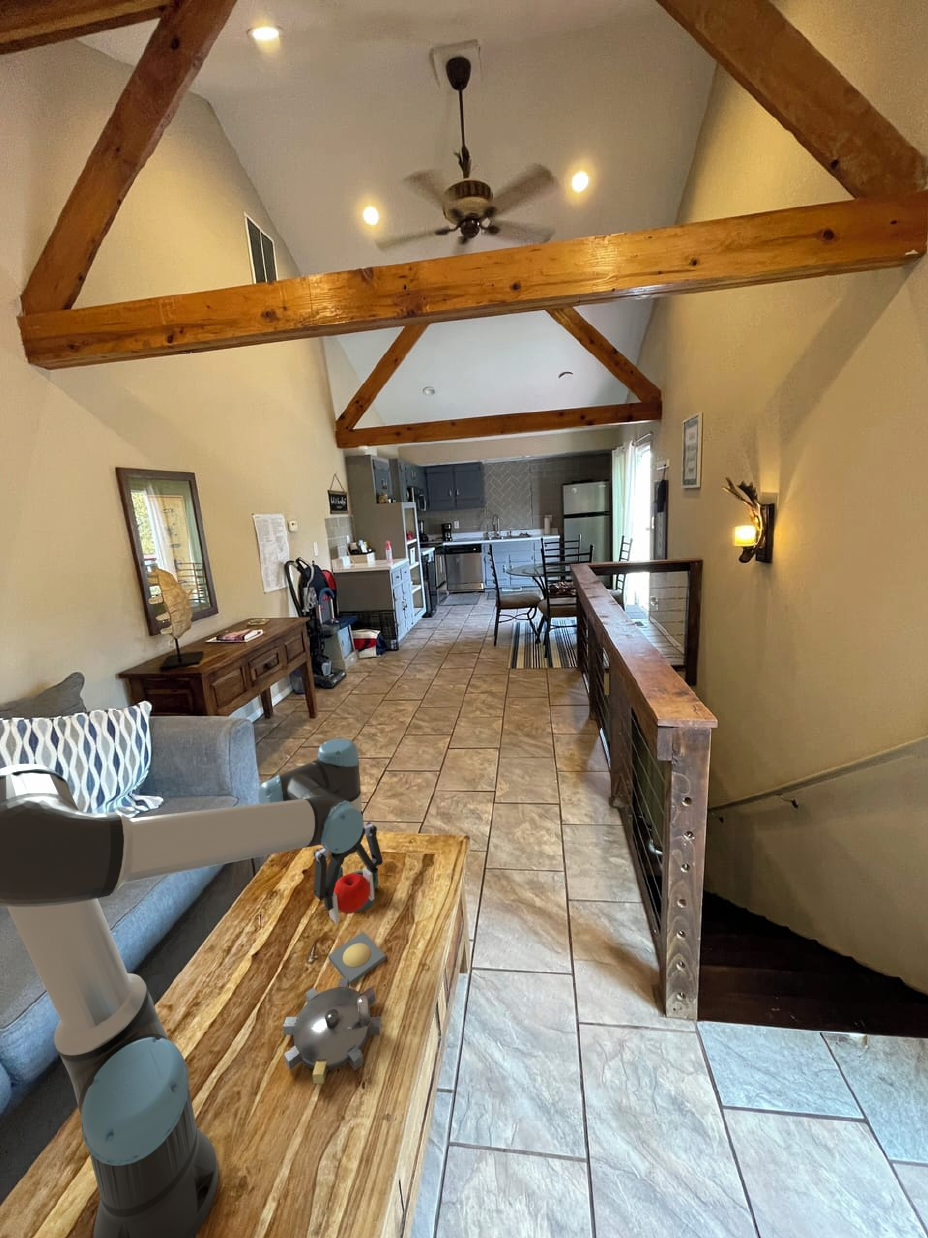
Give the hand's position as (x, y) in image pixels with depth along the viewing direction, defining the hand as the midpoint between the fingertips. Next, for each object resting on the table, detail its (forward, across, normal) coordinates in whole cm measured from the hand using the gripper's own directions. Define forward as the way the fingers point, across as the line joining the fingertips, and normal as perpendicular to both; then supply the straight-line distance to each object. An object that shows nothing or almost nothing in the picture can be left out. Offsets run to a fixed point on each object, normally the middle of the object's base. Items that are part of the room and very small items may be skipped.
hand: (352, 907), depth 108 cm
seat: (+13, 0, 0) cm, 13 cm away
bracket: (+14, +10, +15) cm, 23 cm away
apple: (0, 0, 0) cm, 0 cm away
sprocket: (+13, -12, -11) cm, 21 cm away
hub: (+13, -12, -11) cm, 21 cm away
